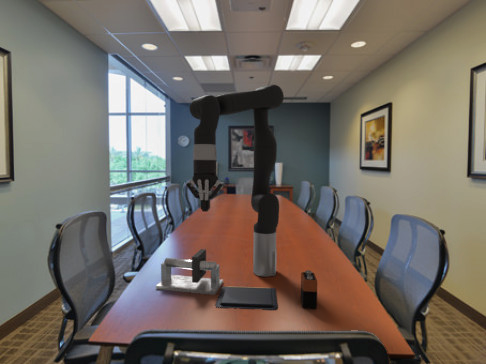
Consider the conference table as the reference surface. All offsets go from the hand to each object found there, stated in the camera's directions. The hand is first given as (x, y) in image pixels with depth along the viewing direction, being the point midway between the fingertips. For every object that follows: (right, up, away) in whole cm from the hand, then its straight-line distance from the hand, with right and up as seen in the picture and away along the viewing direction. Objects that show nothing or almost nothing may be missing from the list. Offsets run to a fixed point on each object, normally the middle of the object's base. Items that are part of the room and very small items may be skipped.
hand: (205, 211), depth 92 cm
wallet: (+14, -30, +1) cm, 33 cm away
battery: (+34, -30, -3) cm, 45 cm away
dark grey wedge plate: (-3, -25, +9) cm, 27 cm away
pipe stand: (-7, -28, +10) cm, 31 cm away
